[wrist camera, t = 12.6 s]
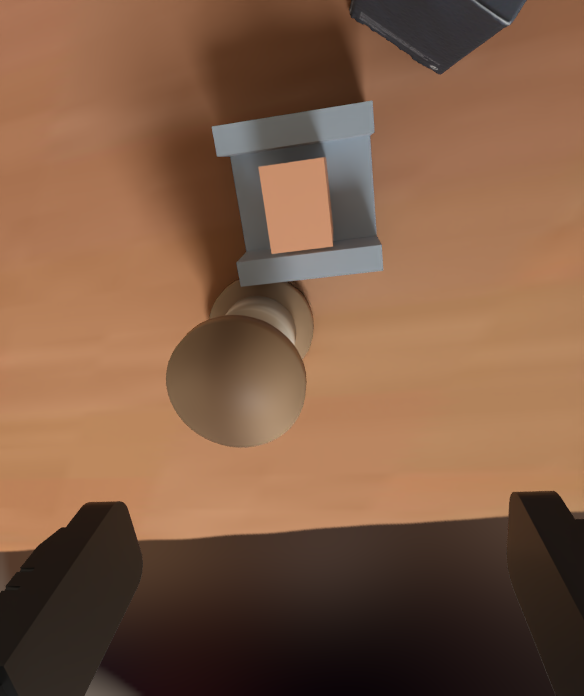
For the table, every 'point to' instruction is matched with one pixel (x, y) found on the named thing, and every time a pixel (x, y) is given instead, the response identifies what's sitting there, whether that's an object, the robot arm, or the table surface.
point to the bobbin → (244, 365)
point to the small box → (436, 25)
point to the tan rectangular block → (297, 205)
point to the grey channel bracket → (344, 184)
